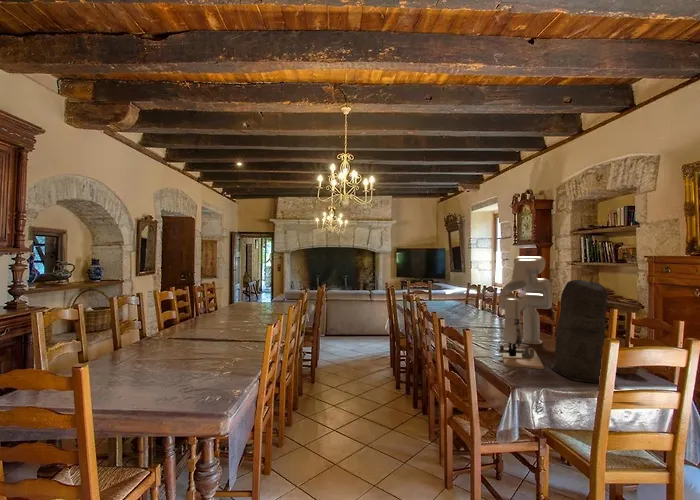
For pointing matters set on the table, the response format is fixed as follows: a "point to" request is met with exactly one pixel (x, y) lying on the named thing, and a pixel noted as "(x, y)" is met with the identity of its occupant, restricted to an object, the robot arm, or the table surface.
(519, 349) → the swing bar
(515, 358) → the door and jamb board
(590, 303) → the stone sculpture
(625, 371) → the bread
